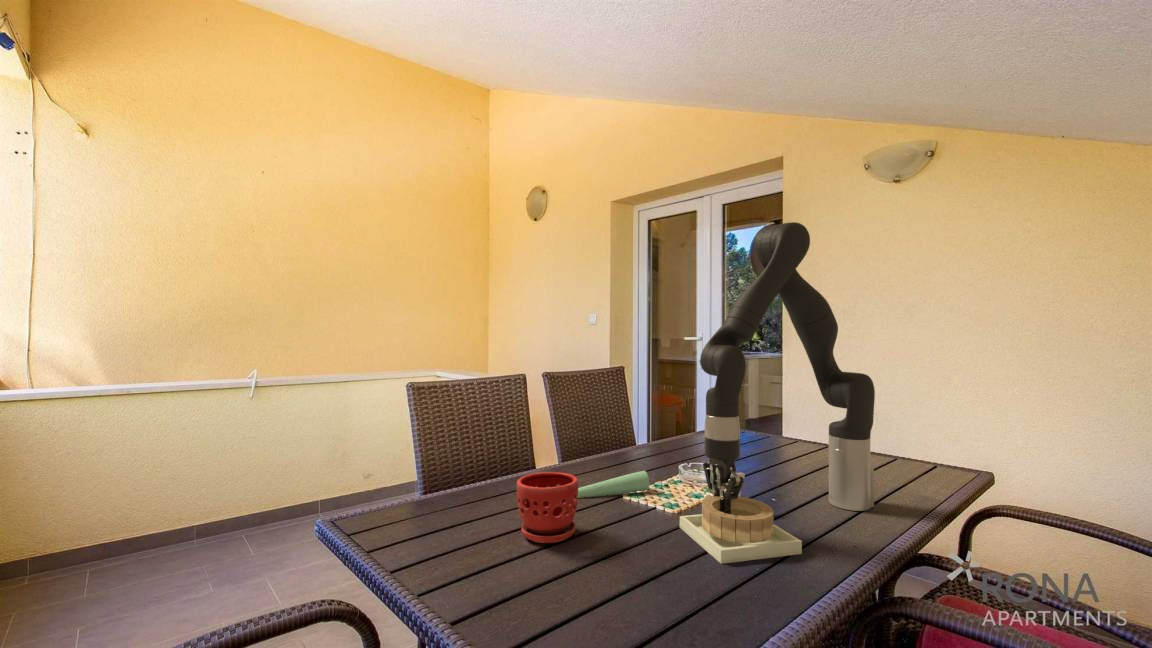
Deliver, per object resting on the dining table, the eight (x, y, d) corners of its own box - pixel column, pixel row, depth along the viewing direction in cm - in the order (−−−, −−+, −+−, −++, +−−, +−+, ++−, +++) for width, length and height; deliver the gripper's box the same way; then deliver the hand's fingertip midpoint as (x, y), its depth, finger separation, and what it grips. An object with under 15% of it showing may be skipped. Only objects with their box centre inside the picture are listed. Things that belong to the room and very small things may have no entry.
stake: (740, 508, 123) (740, 471, 123) (745, 511, 121) (745, 474, 122) (726, 510, 122) (726, 473, 122) (730, 513, 120) (730, 475, 121)
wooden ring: (747, 513, 114) (747, 493, 114) (787, 539, 100) (787, 516, 100) (690, 518, 110) (690, 498, 110) (724, 545, 97) (724, 522, 97)
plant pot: (585, 527, 112) (586, 473, 112) (565, 552, 99) (565, 491, 99) (531, 519, 116) (532, 467, 116) (505, 542, 104) (506, 484, 104)
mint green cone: (547, 476, 132) (641, 468, 140) (547, 497, 132) (641, 488, 140) (552, 482, 127) (649, 473, 135) (552, 504, 127) (649, 494, 135)
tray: (749, 520, 116) (749, 509, 116) (801, 553, 99) (801, 541, 99) (679, 527, 112) (679, 516, 112) (721, 563, 95) (721, 550, 95)
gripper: (755, 441, 105) (755, 524, 105) (721, 428, 119) (721, 502, 119) (723, 443, 104) (723, 527, 103) (692, 429, 117) (691, 504, 117)
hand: (722, 513), depth 111 cm, fingers closed on wooden ring, 2 cm apart
